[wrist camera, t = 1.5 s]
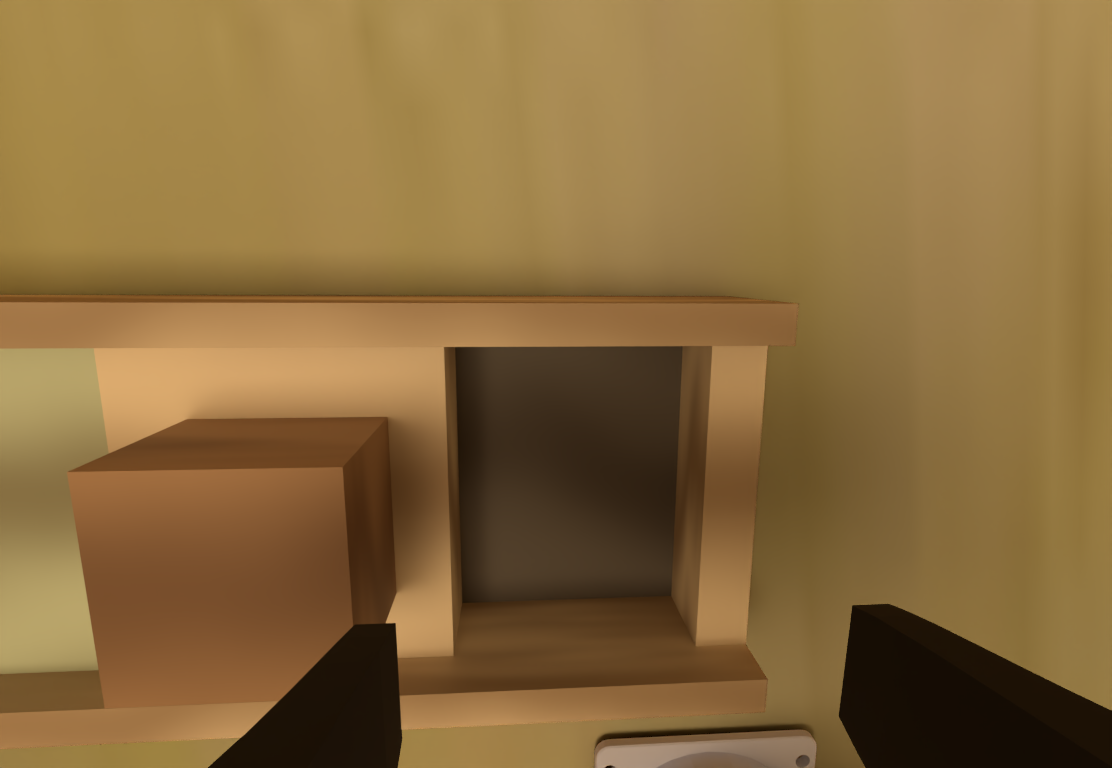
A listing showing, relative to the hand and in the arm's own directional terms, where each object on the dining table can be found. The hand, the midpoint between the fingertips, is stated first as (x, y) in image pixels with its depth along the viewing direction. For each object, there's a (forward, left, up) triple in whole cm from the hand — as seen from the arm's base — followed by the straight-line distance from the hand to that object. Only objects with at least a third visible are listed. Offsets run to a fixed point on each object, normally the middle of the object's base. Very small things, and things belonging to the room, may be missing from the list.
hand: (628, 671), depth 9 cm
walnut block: (0, +7, -7) cm, 10 cm away
